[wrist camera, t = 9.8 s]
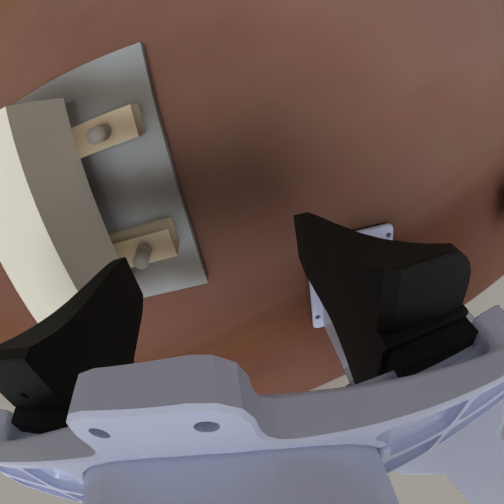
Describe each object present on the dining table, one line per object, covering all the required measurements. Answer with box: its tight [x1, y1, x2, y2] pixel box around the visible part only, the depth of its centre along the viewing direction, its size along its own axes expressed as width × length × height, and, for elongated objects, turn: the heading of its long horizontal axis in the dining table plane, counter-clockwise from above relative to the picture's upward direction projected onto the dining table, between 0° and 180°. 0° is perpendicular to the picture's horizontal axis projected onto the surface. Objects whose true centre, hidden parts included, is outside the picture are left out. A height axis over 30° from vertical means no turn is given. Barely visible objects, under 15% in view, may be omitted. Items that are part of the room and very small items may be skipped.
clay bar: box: [0, 98, 119, 323], centre depth 14 cm, size 14×4×6 cm, turn 11°
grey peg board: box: [13, 42, 208, 298], centre depth 17 cm, size 18×14×4 cm
